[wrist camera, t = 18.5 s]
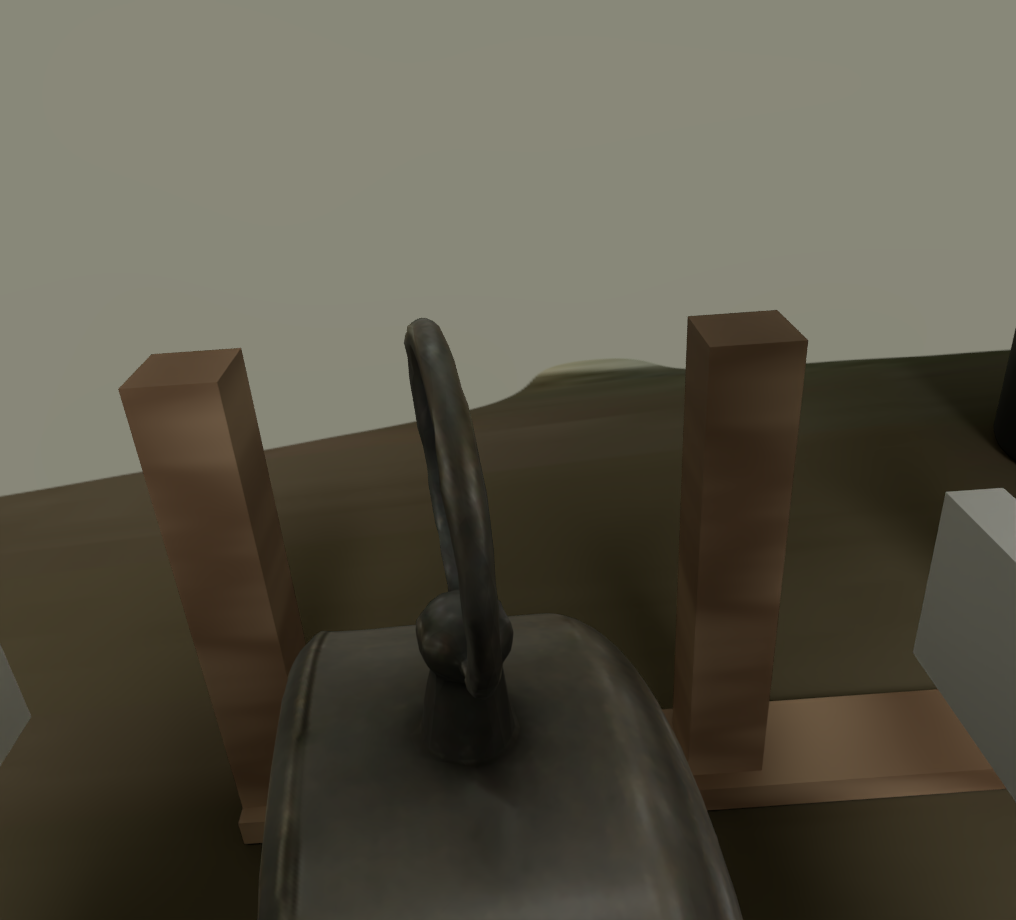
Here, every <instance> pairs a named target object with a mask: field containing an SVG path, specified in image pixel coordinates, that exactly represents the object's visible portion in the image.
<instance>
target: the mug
mask: <svg viewBox="0 0 1016 920" xmlns="http://www.w3.org/2000/svg"><path fill="white" fill-rule="evenodd" d="M994 433H995V437H996V439H997V442H998V444H999V445H1000V447H1001V448H1002V449H1003V450H1004V452H1006V453H1007V454H1008V455H1009V456H1010V457H1012V458H1013V459H1014V460H1016V329H1015V334H1014V338H1013V343H1012V347H1011V351H1010V356H1009V360H1008V365H1007V369H1006V374H1005V378H1004V382H1003V387H1002V391H1001V396H1000V400H999V404H998V409H997V413H996V418H995V422H994Z"/></svg>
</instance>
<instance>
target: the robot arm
mask: <svg viewBox="0 0 1016 920" xmlns="http://www.w3.org/2000/svg"><path fill="white" fill-rule="evenodd" d="M913 654H914V655H915V657H916V658H917V660H918V661H919V663H920V664H921V665H922V667H923V668H924V670H925V671H926V673H927V674H928V676H929V677H930V679H931V680H932V681H933V683H934V684H935V686H936V687H937V689H938V690H939V692H940V693H941V694H942V696H943V697H944V699H945V700H946V702H947V703H948V705H949V706H950V707H951V709H952V710H953V712H954V713H955V715H956V716H957V718H958V719H959V720H960V722H961V723H962V725H963V726H964V728H965V729H966V731H967V732H968V734H969V735H970V736H971V738H972V739H973V741H974V742H975V744H976V745H977V747H978V748H979V749H980V751H981V752H982V754H983V755H984V757H985V758H986V760H987V761H988V762H989V764H990V765H991V767H992V768H993V770H994V771H995V773H996V774H997V776H998V777H999V778H1000V780H1001V781H1002V783H1003V784H1004V786H1005V787H1006V789H1007V790H1008V791H1009V793H1010V794H1011V796H1012V797H1013V799H1014V800H1015V802H1016V499H1015V498H1014V497H1013V496H1012V495H1010V494H1009V493H1008V492H1007V491H1006V490H1005V489H1004V488H994V489H980V490H966V491H952V492H946V494H945V499H944V504H943V508H942V513H941V518H940V523H939V528H938V533H937V538H936V543H935V547H934V552H933V557H932V562H931V567H930V572H929V577H928V582H927V587H926V592H925V596H924V601H923V606H922V611H921V616H920V621H919V626H918V631H917V635H916V640H915V645H914V650H913ZM30 718H31V715H30V712H29V710H28V708H27V705H26V703H25V701H24V698H23V696H22V694H21V691H20V689H19V687H18V684H17V682H16V680H15V677H14V675H13V673H12V671H11V668H10V666H9V664H8V661H7V659H6V657H5V654H4V652H3V650H2V647H1V645H0V765H1V764H2V762H3V761H4V759H5V758H6V756H7V754H8V753H9V751H10V750H11V748H12V747H13V745H14V743H15V742H16V740H17V739H18V737H19V735H20V734H21V732H22V731H23V729H24V728H25V726H26V724H27V723H28V721H29V720H30Z"/></svg>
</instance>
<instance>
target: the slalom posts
mask: <svg viewBox="0 0 1016 920" xmlns="http://www.w3.org/2000/svg"><path fill="white" fill-rule="evenodd" d="M687 327H688V328H687V351H686V377H685V404H684V430H683V456H682V483H681V509H680V535H679V561H678V588H677V614H676V640H675V667H674V693H673V708H672V709H662V711H663V713H664V715H665V717H666V718H667V720H668V722H669V724H670V726H671V728H672V730H673V732H674V734H675V736H676V738H677V740H678V742H679V744H680V746H681V747H682V750H683V752H684V755H685V757H686V760H687V762H688V764H689V767H690V769H691V772H692V774H693V776H694V779H695V781H696V784H697V786H698V788H699V791H700V793H701V796H702V798H703V801H704V804H705V806H706V809H707V810H721V809H734V808H748V807H762V806H776V805H790V804H803V803H817V802H831V801H845V800H858V799H872V798H886V797H900V796H914V795H927V794H941V793H955V792H969V791H982V790H996V789H1006V787H1005V786H1004V784H1003V783H1002V781H1001V780H1000V778H999V777H998V776H997V774H996V773H995V771H994V770H993V768H992V767H991V765H990V764H989V762H988V761H987V760H986V758H985V757H984V755H983V754H982V752H981V751H980V749H979V748H978V747H977V745H976V744H975V742H974V741H973V739H972V738H971V736H970V735H969V734H968V732H967V731H966V729H965V728H964V726H963V725H962V723H961V722H960V720H959V719H958V718H957V716H956V715H955V713H954V712H953V710H952V709H951V707H950V706H949V705H948V703H947V702H946V700H945V699H944V697H943V696H942V694H941V693H940V692H939V690H938V689H935V690H921V691H907V692H893V693H879V694H866V695H852V696H838V697H824V698H810V699H796V700H783V701H769V699H770V690H771V681H772V672H773V662H774V653H775V644H776V634H777V625H778V616H779V607H780V597H781V588H782V579H783V569H784V560H785V551H786V542H787V532H788V523H789V514H790V504H791V495H792V486H793V477H794V467H795V458H796V449H797V439H798V430H799V421H800V412H801V402H802V393H803V384H804V374H805V365H806V355H807V346H808V340H807V339H806V338H805V337H804V336H803V335H802V334H801V333H800V332H799V331H798V330H797V329H796V328H795V327H794V326H793V325H792V324H791V323H790V322H789V321H788V320H787V319H786V318H785V317H783V315H782V314H780V312H778V311H777V310H771V311H758V312H743V313H729V314H715V315H701V316H688V326H687ZM118 390H119V393H120V396H121V400H122V403H123V406H124V410H125V413H126V417H127V419H128V423H129V426H130V430H131V433H132V437H133V440H134V443H135V447H136V450H137V454H138V457H139V460H140V464H141V467H142V470H143V474H144V477H145V481H146V484H147V487H148V491H149V494H150V497H151V501H152V504H153V507H154V511H155V514H156V518H157V521H158V524H159V528H160V531H161V534H162V538H163V541H164V544H165V548H166V551H167V555H168V558H169V561H170V565H171V568H172V571H173V575H174V578H175V582H176V585H177V588H178V592H179V595H180V598H181V602H182V605H183V608H184V612H185V615H186V619H187V622H188V625H189V629H190V632H191V635H192V639H193V642H194V646H195V649H196V652H197V656H198V659H199V662H200V666H201V669H202V672H203V676H204V679H205V683H206V686H207V689H208V693H209V696H210V699H211V703H212V706H213V709H214V713H215V716H216V720H217V723H218V726H219V730H220V733H221V736H222V740H223V743H224V747H225V750H226V753H227V757H228V760H229V763H230V767H231V770H232V773H233V777H234V780H235V784H236V787H237V790H238V794H239V797H240V800H241V804H242V807H243V809H242V812H241V816H240V819H239V822H238V825H239V828H240V831H241V835H242V838H243V841H244V844H252V843H263V834H264V824H265V814H266V806H267V798H268V789H269V781H270V773H271V766H272V759H273V753H274V746H275V740H276V734H277V727H278V722H279V716H280V709H281V702H282V698H283V695H284V692H285V688H286V684H287V680H288V675H289V672H290V670H291V667H292V665H293V663H294V661H295V659H296V657H297V655H298V654H299V652H300V651H301V650H302V649H303V647H304V646H305V645H306V642H305V637H304V633H303V628H302V624H301V619H300V615H299V610H298V605H297V601H296V596H295V592H294V587H293V583H292V578H291V573H290V569H289V564H288V560H287V555H286V551H285V546H284V541H283V537H282V532H281V528H280V523H279V519H278V514H277V510H276V505H275V500H274V496H273V491H272V487H271V482H270V478H269V473H268V468H267V464H266V459H265V455H264V450H263V446H262V441H261V437H260V432H259V428H258V423H257V418H256V414H255V409H254V405H253V400H252V396H251V391H250V387H249V382H248V377H247V373H246V368H245V363H244V359H243V355H242V350H241V348H234V349H219V350H205V351H193V352H178V353H163V354H151V355H150V356H149V358H148V359H147V360H146V361H145V362H144V363H143V364H142V365H141V366H140V367H139V368H138V369H137V370H136V371H135V372H134V373H133V375H131V377H129V378H128V380H127V381H126V382H125V383H124V384H123V385H122V386H121V387H120V388H119V389H118Z"/></svg>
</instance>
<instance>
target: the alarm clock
mask: <svg viewBox="0 0 1016 920" xmlns="http://www.w3.org/2000/svg"><path fill="white" fill-rule="evenodd" d="M404 344H405V349H406V352H407V357H408V367H409V379H410V385H411V391H412V396H413V402H414V408H415V414H416V421H417V427H418V431H419V434H420V437H421V441H422V444H423V448H424V453H425V458H426V463H427V468H428V483H429V490H430V495H431V501H432V507H433V512H434V518H435V523H436V527H437V530H438V533H439V538H440V548H441V555H442V560H443V564H444V569H445V574H446V579H447V584H448V592H446V593H442V594H440V595H439V596H437V597H436V598H434V599H433V600H432V601H430V603H429V604H428V605H427V606H426V608H425V609H424V610H423V612H422V613H421V614H420V616H419V617H418V618H417V620H416V625H408V626H398V627H388V628H378V629H368V630H354V631H334V632H333V631H321V632H319V633H317V634H316V635H315V636H314V637H313V638H312V639H311V640H310V641H309V642H308V643H307V644H306V645H305V646H304V647H303V649H302V650H301V651H300V652H299V654H298V655H297V657H296V659H295V661H294V663H293V665H292V667H291V670H290V672H289V675H288V680H287V684H286V688H285V692H284V695H283V698H282V702H281V709H280V716H279V722H278V727H277V734H276V740H275V746H274V753H273V759H272V766H271V773H270V781H269V789H268V798H267V806H266V814H265V824H264V834H263V843H262V853H261V862H260V872H259V891H258V917H257V920H743V917H742V914H741V910H740V906H739V903H738V899H737V896H736V893H735V890H734V887H733V884H732V881H731V878H730V875H729V872H728V869H727V866H726V863H725V860H724V857H723V854H722V851H721V848H720V845H719V842H718V837H717V835H716V834H715V831H714V828H713V825H712V823H711V820H710V817H709V814H708V812H707V809H706V806H705V804H704V801H703V798H702V796H701V793H700V791H699V788H698V786H697V784H696V781H695V779H694V776H693V774H692V772H691V769H690V767H689V764H688V762H687V760H686V757H685V755H684V752H683V750H682V747H681V746H680V744H679V742H678V740H677V738H676V736H675V734H674V732H673V730H672V728H671V726H670V724H669V722H668V720H667V718H666V717H665V715H664V713H663V711H662V709H661V707H660V705H659V703H658V702H657V700H656V698H655V697H654V695H653V693H652V692H651V690H650V688H649V687H648V685H647V684H646V682H645V681H644V680H643V678H642V677H641V675H640V674H639V673H638V671H637V670H636V668H635V667H634V665H633V664H632V663H631V662H630V661H629V660H628V659H627V658H626V656H625V655H624V654H623V653H622V652H621V651H620V650H619V649H618V647H617V646H615V645H614V644H613V643H612V642H611V641H610V640H609V639H607V638H606V637H605V636H604V635H602V634H601V633H600V632H598V631H597V630H596V629H594V628H592V627H591V626H589V625H587V624H585V623H583V622H581V621H579V620H577V619H575V618H571V617H568V616H565V615H560V614H553V613H544V614H529V615H518V616H507V615H506V613H505V611H504V609H503V607H502V604H501V601H499V600H498V597H497V591H496V581H495V564H494V548H493V540H492V532H491V524H490V515H489V507H488V499H487V492H486V487H485V483H484V478H483V473H482V468H481V463H480V459H479V454H478V449H477V444H476V439H475V434H474V429H473V424H472V419H471V415H470V411H469V407H468V403H467V401H466V398H465V396H464V393H463V390H462V388H461V384H460V380H459V376H458V373H457V369H456V365H455V361H454V359H453V356H452V353H451V351H450V348H449V346H448V344H447V341H446V339H445V337H444V335H443V333H442V331H441V329H440V327H439V326H438V325H437V324H436V323H435V322H433V321H431V320H429V319H427V318H419V319H417V320H415V321H414V322H412V323H411V324H410V325H408V327H407V333H406V335H405V340H404Z"/></svg>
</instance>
